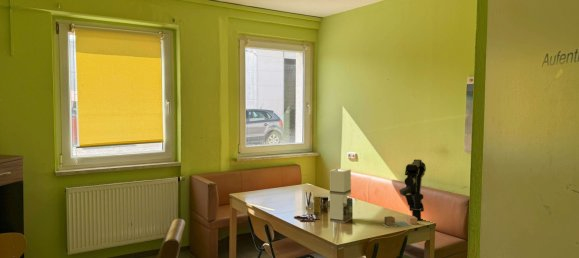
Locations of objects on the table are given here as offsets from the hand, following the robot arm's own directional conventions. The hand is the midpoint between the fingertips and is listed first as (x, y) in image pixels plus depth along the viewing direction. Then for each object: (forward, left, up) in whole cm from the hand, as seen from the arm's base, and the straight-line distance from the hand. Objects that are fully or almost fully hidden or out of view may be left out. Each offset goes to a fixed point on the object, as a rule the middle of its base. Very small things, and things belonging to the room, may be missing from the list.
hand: (412, 206), depth 283 cm
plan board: (0, -12, -12) cm, 17 cm away
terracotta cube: (0, 0, -12) cm, 12 cm away
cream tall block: (-22, -42, -12) cm, 49 cm away
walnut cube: (0, -16, -11) cm, 19 cm away
